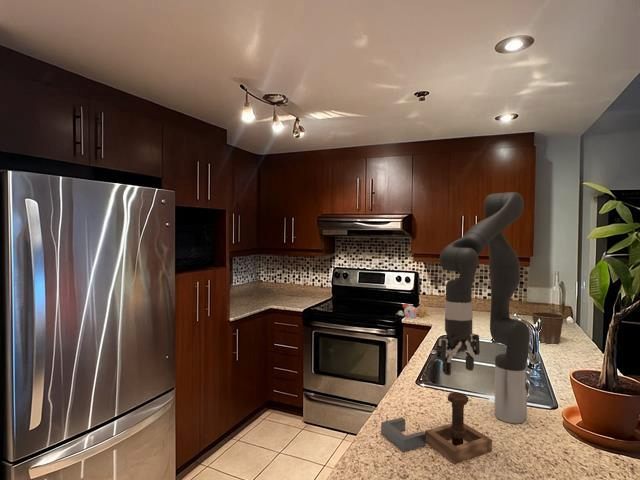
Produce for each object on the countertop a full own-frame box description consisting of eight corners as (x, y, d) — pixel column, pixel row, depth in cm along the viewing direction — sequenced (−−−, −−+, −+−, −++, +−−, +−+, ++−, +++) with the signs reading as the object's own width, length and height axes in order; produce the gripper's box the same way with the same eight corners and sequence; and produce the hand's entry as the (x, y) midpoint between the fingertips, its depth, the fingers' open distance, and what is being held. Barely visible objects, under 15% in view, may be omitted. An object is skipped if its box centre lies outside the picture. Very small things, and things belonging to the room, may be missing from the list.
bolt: (465, 442, 116) (465, 392, 115) (470, 452, 111) (470, 399, 110) (445, 441, 116) (445, 391, 116) (449, 451, 111) (449, 399, 111)
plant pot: (550, 338, 229) (550, 311, 229) (571, 346, 213) (571, 317, 213) (524, 339, 227) (525, 312, 226) (544, 347, 211) (544, 318, 210)
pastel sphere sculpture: (433, 316, 291) (433, 304, 290) (423, 322, 271) (423, 309, 271) (401, 312, 304) (401, 301, 304) (389, 318, 284) (390, 305, 284)
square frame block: (460, 432, 122) (460, 420, 122) (491, 451, 111) (491, 439, 111) (424, 442, 116) (424, 430, 116) (454, 464, 105) (454, 451, 105)
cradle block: (402, 428, 124) (402, 417, 124) (425, 445, 114) (425, 433, 114) (381, 433, 121) (381, 422, 121) (403, 452, 111) (403, 439, 111)
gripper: (467, 311, 119) (466, 364, 119) (430, 316, 113) (430, 371, 113) (486, 316, 112) (486, 372, 113) (448, 321, 106) (448, 380, 107)
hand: (458, 372), depth 113 cm, fingers open, 8 cm apart
